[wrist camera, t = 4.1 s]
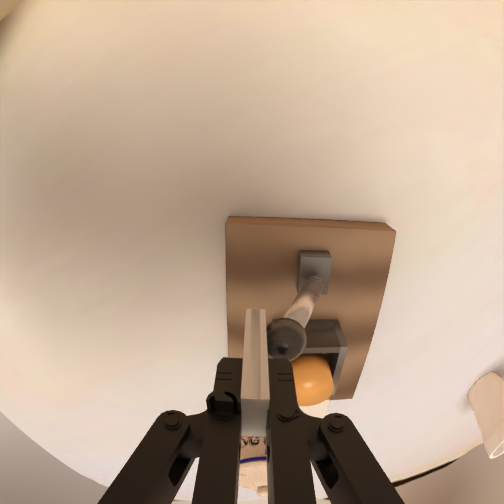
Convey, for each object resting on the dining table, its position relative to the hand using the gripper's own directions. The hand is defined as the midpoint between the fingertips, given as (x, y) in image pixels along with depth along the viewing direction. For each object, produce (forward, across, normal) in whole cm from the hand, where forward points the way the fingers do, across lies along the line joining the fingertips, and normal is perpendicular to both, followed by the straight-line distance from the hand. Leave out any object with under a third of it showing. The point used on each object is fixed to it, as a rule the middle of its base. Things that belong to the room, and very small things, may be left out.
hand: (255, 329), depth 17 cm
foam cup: (+10, +39, -22) cm, 46 cm away
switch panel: (+11, +5, -6) cm, 13 cm away
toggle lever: (+6, +4, 0) cm, 7 cm away
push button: (+5, +5, -8) cm, 10 cm away
